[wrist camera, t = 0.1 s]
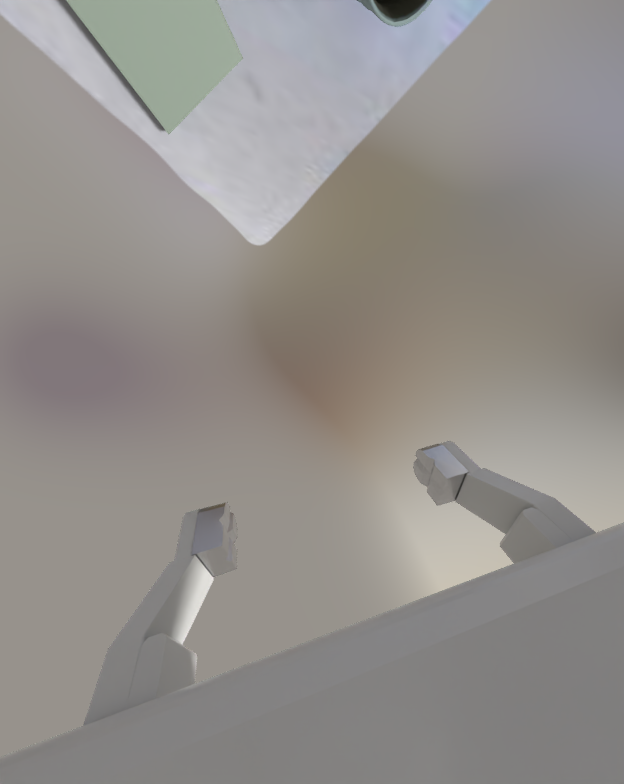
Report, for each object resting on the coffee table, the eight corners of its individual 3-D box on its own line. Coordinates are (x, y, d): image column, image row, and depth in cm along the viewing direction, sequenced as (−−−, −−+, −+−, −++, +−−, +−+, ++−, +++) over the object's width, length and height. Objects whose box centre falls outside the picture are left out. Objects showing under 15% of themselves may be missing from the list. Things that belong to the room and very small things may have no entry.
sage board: (12, -76, 23) (8, -76, 22) (103, -248, 19) (101, -254, 18) (168, 131, 37) (168, 134, 36) (241, 56, 32) (243, 58, 32)
